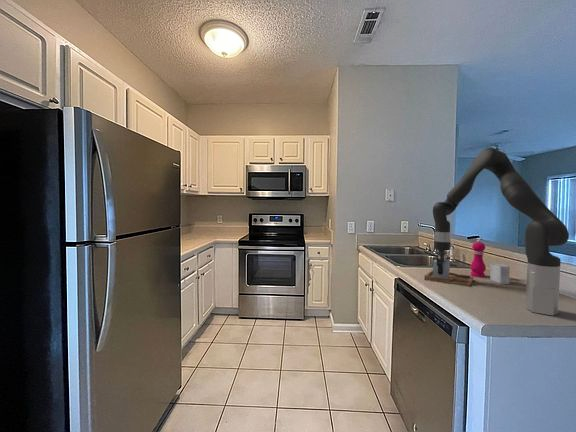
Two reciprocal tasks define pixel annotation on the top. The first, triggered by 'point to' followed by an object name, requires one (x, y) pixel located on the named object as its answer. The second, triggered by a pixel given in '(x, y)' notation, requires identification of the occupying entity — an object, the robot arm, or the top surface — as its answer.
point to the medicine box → (500, 273)
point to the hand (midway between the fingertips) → (441, 273)
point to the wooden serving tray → (451, 279)
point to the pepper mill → (478, 260)
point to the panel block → (445, 269)
